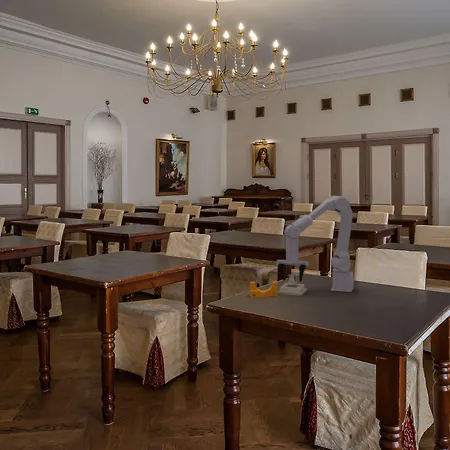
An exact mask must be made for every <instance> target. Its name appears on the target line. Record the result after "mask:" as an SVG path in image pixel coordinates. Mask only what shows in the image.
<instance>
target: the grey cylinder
mask: <svg viewBox="0 0 450 450" xmlns="http://www.w3.org/2000/svg"><path fill="white" fill-rule="evenodd" d="M297 276H298V275H297V274H292V273H291V274H287V283H288V287H295V288H297V284H298V282H297V281H298V280H297Z"/></svg>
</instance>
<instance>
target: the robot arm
mask: <svg viewBox="0 0 450 450" xmlns="http://www.w3.org/2000/svg"><path fill="white" fill-rule="evenodd" d="M327 211H335V212H336V213H337V214H338V215H339V216H340V217H339V219H340V220H339V226H338V227H339V228H338V235H337V242H336V250H334V252H333V257H332V258H331V260H330V265H331V266H332V287H331V288H330V291H332V292H333V291H334V292H346V293H352V292H353V290H354V288H355V287H354V272H353V271H350V269H351V265H352V263H351V261H350V258H351V257H350V253H349V246H350V237H351V231H352V224H353V217H354V216H353V215H354V213H353V210H352V208H351V205H350V201H349V199H347V198H346V196H342V195H339V196H338V195H332V196H330V197H329V198H326V199H325V200H324V201H323V202H321V204H320V205H318V206H317V207H316V208H314V209H313V210H312V211H311V212H310V213H309V214H300V215H299V218H298V219H297V220H295V221H292V222H291V224H290V225H287V226H286V227H285V229H284V231H283V233H284V236H285V259H276V265H278V269H279V271H280V273H281V276H282V280H283V281H286V279H287V276H286V275H287V274H286V269H287V266H298V272H299V273H298V275H299V281H298V282H302V281H303V278H304V273H305V271H306V268H307V267H308V266H309V261H308V260H299V259H300V257H299V255H300V254H299V253H300V252H299V250H300V248H299V237H300V236H301V233H303V232H304V231H305V230H307V229H308V228H309V227H311V226H312V225H313V221H315V219H317V218H318V217H320V216H321V215H322V214H324V213H326V212H327Z"/></svg>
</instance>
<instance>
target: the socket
mask: <svg viewBox="0 0 450 450" xmlns="http://www.w3.org/2000/svg"><path fill="white" fill-rule="evenodd" d="M307 291H308V288H307V287H306V288H305V284H302V283H297V288H295V287H288V282H285V283H284V284H282V285H281V286H280V289H279V290H277V295H287V296H298V297H299V296H300V297H301V296H303V295H304V294H305V293H306V292H307Z"/></svg>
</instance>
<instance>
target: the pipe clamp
mask: <svg viewBox="0 0 450 450" xmlns="http://www.w3.org/2000/svg"><path fill="white" fill-rule="evenodd" d="M249 296H250V298H251V299H257V298H258V299H264V298H265V299H266V297H269V298H270V297H271V298H273V297H278V281H277V280H275V281H271V286H270V287H269V288H267V289H264V290H261V289H259V288H258V287H257V286H256V283H255V281H249Z"/></svg>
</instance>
